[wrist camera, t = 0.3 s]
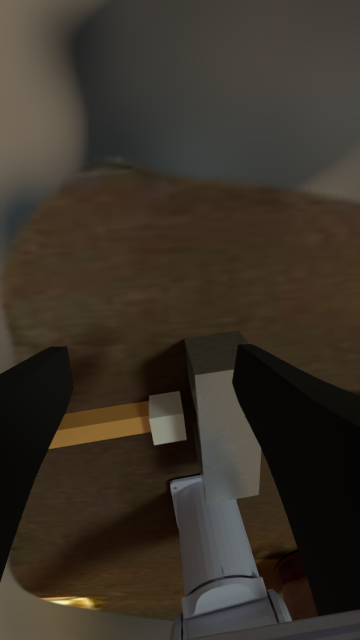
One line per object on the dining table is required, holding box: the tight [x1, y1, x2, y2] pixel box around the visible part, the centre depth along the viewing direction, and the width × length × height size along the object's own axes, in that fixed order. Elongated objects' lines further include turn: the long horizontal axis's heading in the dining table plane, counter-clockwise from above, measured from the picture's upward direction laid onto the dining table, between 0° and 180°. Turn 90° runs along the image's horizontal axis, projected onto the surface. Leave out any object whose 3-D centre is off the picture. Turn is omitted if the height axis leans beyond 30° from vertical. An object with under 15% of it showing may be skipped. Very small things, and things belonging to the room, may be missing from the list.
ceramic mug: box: [276, 552, 318, 621], centre depth 33 cm, size 20×12×14 cm, turn 16°
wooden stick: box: [49, 391, 187, 449], centre depth 22 cm, size 17×3×3 cm, turn 96°
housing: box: [184, 331, 261, 505], centre depth 21 cm, size 15×5×5 cm, turn 6°
